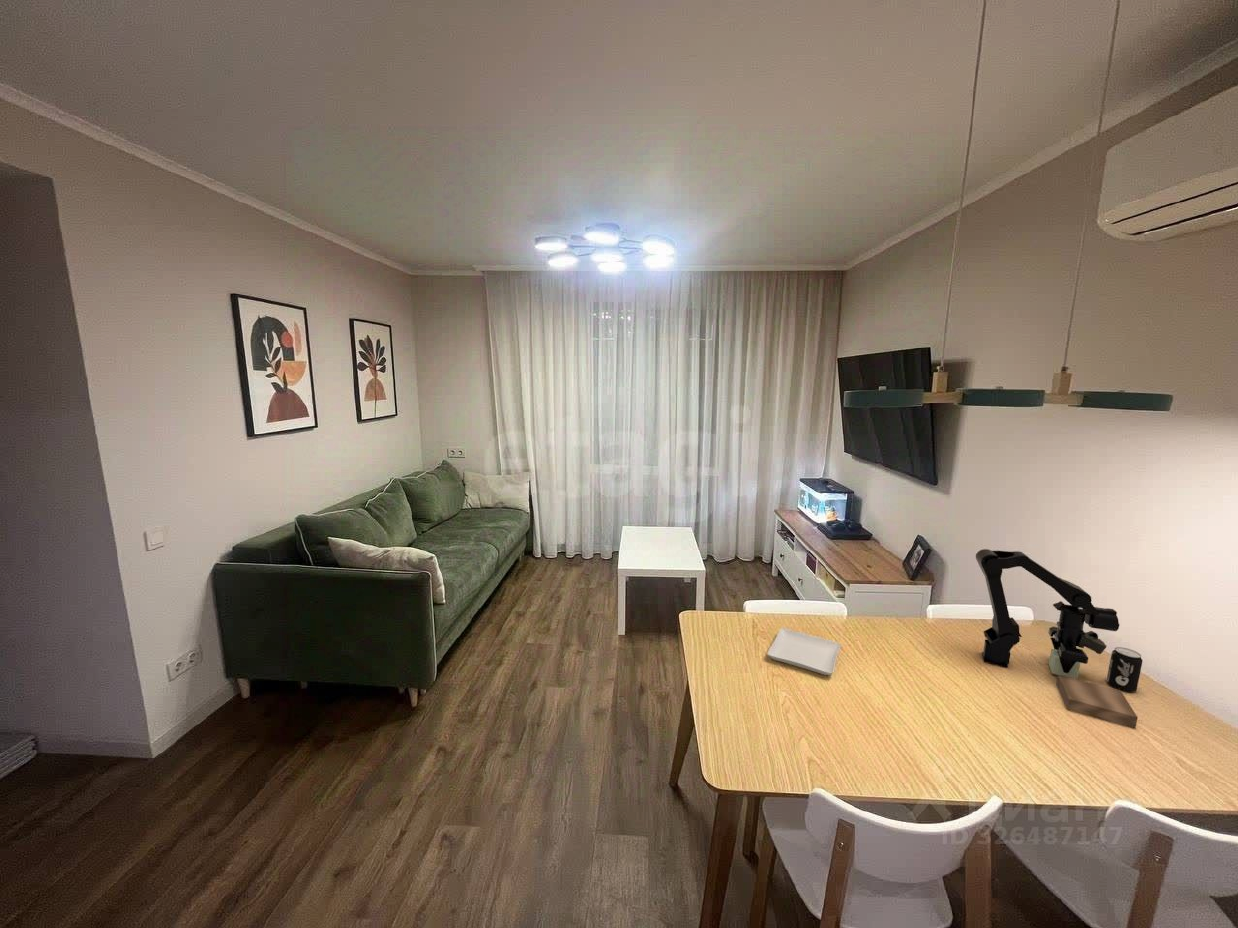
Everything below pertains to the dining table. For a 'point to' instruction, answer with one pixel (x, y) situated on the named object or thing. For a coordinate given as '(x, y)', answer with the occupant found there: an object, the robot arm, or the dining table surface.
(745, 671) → the dining table surface
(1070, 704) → the walnut box
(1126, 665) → the beverage can
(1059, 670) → the sage cube
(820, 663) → the salad plate
